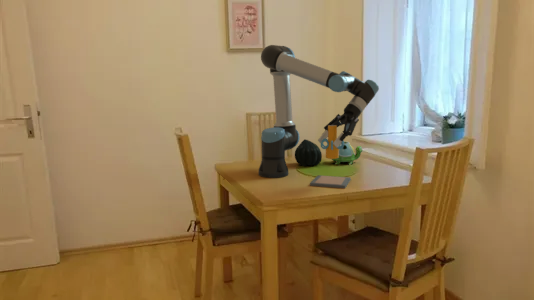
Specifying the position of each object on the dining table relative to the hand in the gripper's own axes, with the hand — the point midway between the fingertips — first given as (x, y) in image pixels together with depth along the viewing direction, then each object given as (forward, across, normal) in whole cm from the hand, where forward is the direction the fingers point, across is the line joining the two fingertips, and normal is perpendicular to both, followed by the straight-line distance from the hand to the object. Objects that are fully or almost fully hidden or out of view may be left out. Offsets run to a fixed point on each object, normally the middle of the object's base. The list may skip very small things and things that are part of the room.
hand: (327, 143), depth 193 cm
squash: (+3, +40, -24) cm, 46 cm away
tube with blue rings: (+3, 0, -7) cm, 7 cm away
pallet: (+11, 0, -15) cm, 19 cm away
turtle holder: (-13, +34, -39) cm, 54 cm away
